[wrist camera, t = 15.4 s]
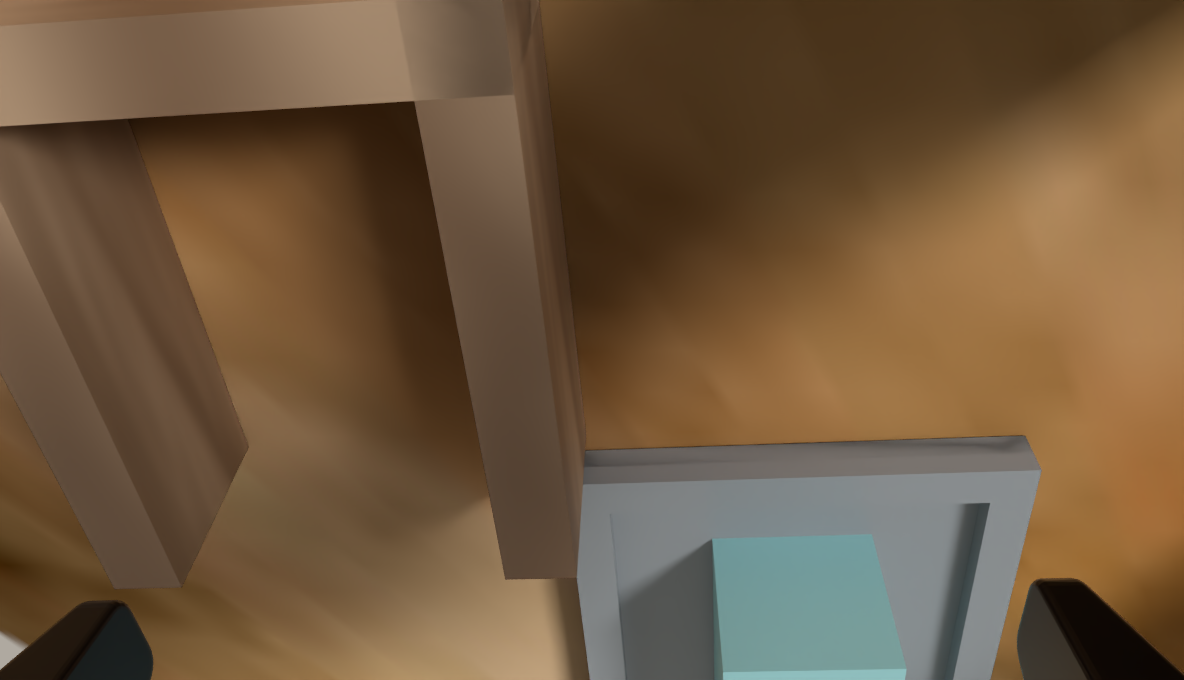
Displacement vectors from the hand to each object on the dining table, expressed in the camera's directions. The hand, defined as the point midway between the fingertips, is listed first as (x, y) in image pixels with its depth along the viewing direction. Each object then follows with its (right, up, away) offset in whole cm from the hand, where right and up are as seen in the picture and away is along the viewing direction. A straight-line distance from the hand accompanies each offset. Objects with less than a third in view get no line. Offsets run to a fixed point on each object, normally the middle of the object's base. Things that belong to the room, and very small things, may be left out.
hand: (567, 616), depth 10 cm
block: (+5, -3, +14) cm, 15 cm away
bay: (-5, +5, +11) cm, 14 cm away
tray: (+6, -5, +18) cm, 20 cm away
